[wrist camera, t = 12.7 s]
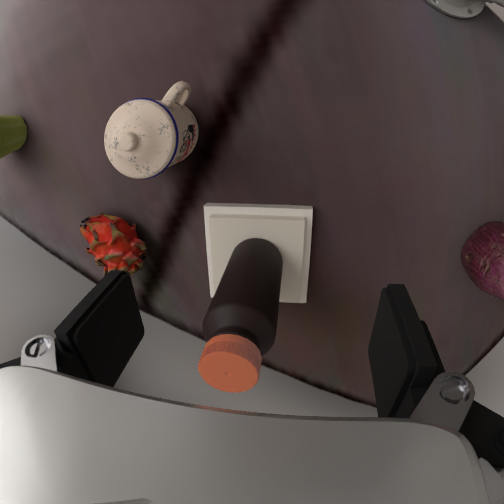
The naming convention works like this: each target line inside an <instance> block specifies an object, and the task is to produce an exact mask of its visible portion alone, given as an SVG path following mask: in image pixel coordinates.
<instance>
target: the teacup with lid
mask: <svg viewBox="0 0 504 504" xmlns="http://www.w3.org/2000/svg"><path fill="white" fill-rule="evenodd" d="M190 91H191V88H190V85H189V84H187V83H186V82H184V81H180V82H177V83H176V84H174V85H173V86H172V87H171V88H170V89H169V91H168V92H167V93H166V95H165V96H164V98H163V100H162V101H158V100H152V99H148V98H138V99H133V100H130V101H128V102H126V103H124V104H123V105H121V106H120V107H119V108H118V109H117V110H116V111H115V112H114V113H113V114H112V116H111V118H110V119H109V121H108V123H107V126H106V130H105V136H104V143H105V150H106V153H107V156H108V158H109V160H110V162H111V163H112V165H113V166H114V167H115V168H116V169H117V170H118V171H119V172H121V173H122V174H124V175H126V176H128V177H131V178H135V179H148V178H152V177H154V176H157V175H159V174H160V173H162V172H163V171H164V170H165V169H166V168H168V167H170V166H172V165H174V164H176V163H178V162H180V161H182V160H184V159H185V158H186V157H187V156H189V154H190V153H191V152H192V151H193V149H194V147H195V145H196V143H197V139H198V124H197V121H196V118H195V116H194V115H193V113H192V112H191V111H190V110H189V109H188V108H187V107H186V106H185V103H186V101H187V99H188V98H189V95H190ZM177 96H178V97H177ZM176 98H177V99H176ZM175 99H176V101H175Z"/></svg>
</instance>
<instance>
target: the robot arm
mask: <svg viewBox="0 0 504 504" xmlns="http://www.w3.org/2000/svg"><path fill="white" fill-rule="evenodd" d="M425 1H426V2H427V3H429V4H430V5H431V6H433V7H434V8H435V9H437V10H439V11H440V12H442V13H444V14H446V15H449V16H451V17H455V18H462V19H466V18H471V17H474V16H476V15H478V14H479V13H480V12H481V11H482V10H483V8H484V6H485V2H489V3H493V2H494V3H497V4H498V5H500V6H502V7H504V0H425ZM54 332H55V334H56V338H55V339H53V338H52V337H51V336H49V335H38V336H35V337H33V338H31V339H30V340H28V341H27V342H26V343H25V344H24V346H23V348H22V352H21V357H19V358H17V359H14V360H11V361H8V362H5V363H2V364H0V504H504V418H503V417H502V416H500V415H498V414H497V413H495V412H493V411H491V410H490V409H488V408H486V407H485V406H483V405H481V404H479V403H478V402H476V401H474V396H475V390H474V386H473V384H472V383H471V381H470V380H469V379H468V378H467V377H465V376H464V375H462V374H460V373H457V372H445V370H444V367H443V365H442V362H441V359H440V357H439V354H438V352H437V349H436V347H435V344H434V342H433V339H432V337H431V334H430V332H429V330H428V327H427V325H426V323H425V322H424V321H423V320H421V321H420V319H419V317H418V314H417V312H416V310H415V307H414V305H413V303H412V301H411V298H410V296H409V294H408V292H407V289H406V287H405V285H404V284H388V286H387V288H383V289H382V292H381V296H380V301H379V305H378V310H377V314H376V319H375V323H374V327H373V331H372V335H371V339H370V343H369V349H368V354H369V360H370V366H371V372H372V378H373V384H374V391H375V397H376V404H377V412H378V417H319V416H294V415H279V414H266V413H256V412H246V411H238V410H229V409H222V408H214V407H207V406H201V405H195V404H189V403H183V402H177V401H172V400H167V399H162V398H157V397H152V396H147V395H143V394H139V393H134V392H130V391H126V390H122V389H118V388H114V385H115V383H116V381H117V380H118V378H119V376H120V374H121V373H122V371H123V369H124V368H125V366H126V365H127V362H128V361H129V359H130V358H131V356H132V355H133V353H134V351H135V349H136V348H137V346H138V345H139V343H140V341H141V340H142V338H143V336H144V326H143V323H142V319H141V316H140V312H139V308H138V304H137V301H136V297H135V293H134V289H133V285H132V281H131V277H130V276H129V275H127V273H126V272H125V271H121V270H111V271H109V272H108V273H107V274H106V275H105V276H104V277H103V279H102V280H101V281H100V282H99V283H98V284H97V285H96V286H95V287H94V288H93V289H92V290H91V291H90V292H89V293H88V294H87V295H86V296H85V297H84V298H83V300H82V301H81V302H80V303H79V304H78V305H77V306H76V307H75V308H74V309H73V310H72V311H71V312H70V314H69V315H68V316H67V317H66V318H65V319H64V320H63V321H62V322H61V324H60V325H59V326H58V327H57V328H56V329H55V331H54Z"/></svg>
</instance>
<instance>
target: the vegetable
mask: <svg viewBox="0 0 504 504" xmlns="http://www.w3.org/2000/svg"><path fill="white" fill-rule="evenodd" d="M461 260H462V264H463V266H464V269H465V270H466V272H467V274H468V276H469V277H470V278H471V280H472V281H473V282H474V283H475V285H476V286H477V287H479V288H480V289H481V290H483V291H485V292H487V293H488V294H490V295H493V296H495V297H498V298H500V299H501V300H503V301H504V224H503V223H502V222H488V223H486V224H484V225H482V226H479V227H478V229H477V230H476V231H474V232H473V233H472V235H471V236H470V237H469V238H468V239H467V240H466V242H465V244H464V246H463V249H462V252H461Z"/></svg>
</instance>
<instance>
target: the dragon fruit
mask: <svg viewBox="0 0 504 504" xmlns="http://www.w3.org/2000/svg"><path fill="white" fill-rule="evenodd" d="M101 214H102V215H98V216H90V217H88V218H86V219H85V220H83V221H82V222H81V223H84V222H85V223H86V224H85V225H84V226H82V225H80V232H81V234H82V235H83V236H84V238H85V239H86V240H87V241H88V242H89V244H90V249H89V248H86V252H87V253H89V254H92V255H94V256H95V257H96V258H95V262H96V265H97V266H104V276H105V275H106V274H107V273H108V272H109V271H111V270H121V271H125V272H126V273H127V275H134V273H135V272H137V269H139V268H140V270H141V268H142V266H143V262H142V260H144V259H146V258H147V257H148V256H147V254H146V252H145V251H144V250H146V249H147V247H146V245H145V242H144V241H141V240H140V239H138V236H137V232H136V227H137V224H136V223H133V224H131V226H130V225H129V224H128V223H127V221H125V220H124V219H123V218H120V217H116V216H113V215H106V214H104V213H101ZM140 255H142V256H143V258H142V259H141V258H140Z"/></svg>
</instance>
